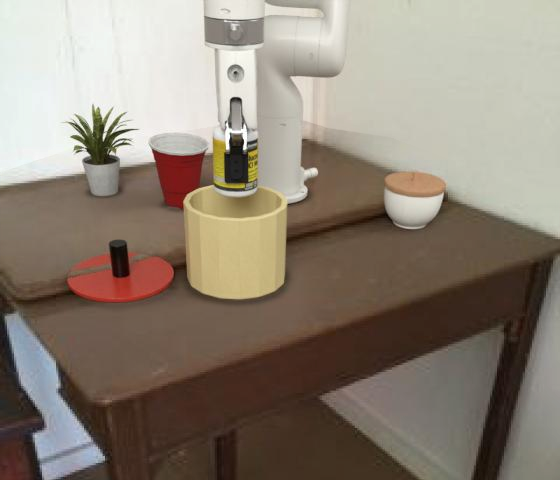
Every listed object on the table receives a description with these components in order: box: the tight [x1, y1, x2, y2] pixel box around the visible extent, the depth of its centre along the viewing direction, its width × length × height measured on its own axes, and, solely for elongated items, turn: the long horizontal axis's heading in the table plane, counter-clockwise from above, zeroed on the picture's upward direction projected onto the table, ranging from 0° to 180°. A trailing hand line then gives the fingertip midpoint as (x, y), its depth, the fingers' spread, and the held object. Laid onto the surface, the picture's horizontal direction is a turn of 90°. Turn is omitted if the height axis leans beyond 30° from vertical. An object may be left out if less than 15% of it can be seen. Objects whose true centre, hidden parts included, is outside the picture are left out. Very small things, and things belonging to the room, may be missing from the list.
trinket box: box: [383, 170, 447, 230], centre depth 125 cm, size 11×11×9 cm
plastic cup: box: [148, 132, 210, 211], centre depth 129 cm, size 11×11×12 cm
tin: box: [183, 184, 288, 300], centre depth 103 cm, size 15×15×12 cm
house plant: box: [61, 104, 140, 197], centre depth 131 cm, size 14×14×16 cm
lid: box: [66, 239, 175, 303], centre depth 104 cm, size 16×16×6 cm
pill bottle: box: [212, 106, 258, 198], centre depth 96 cm, size 6×6×11 cm
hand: (235, 172), depth 98 cm, fingers closed on pill bottle, 6 cm apart
